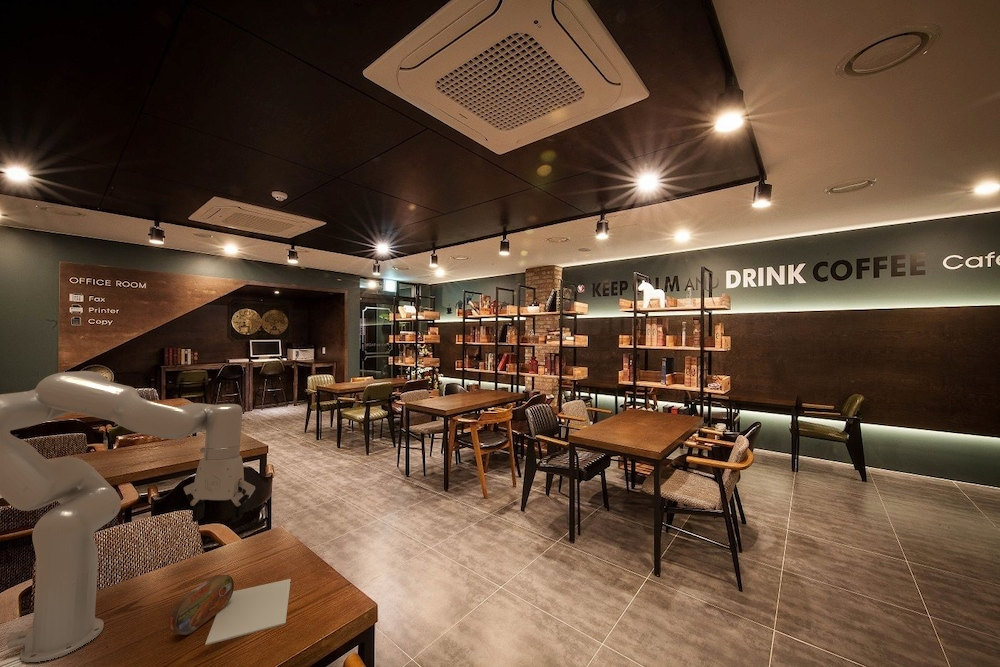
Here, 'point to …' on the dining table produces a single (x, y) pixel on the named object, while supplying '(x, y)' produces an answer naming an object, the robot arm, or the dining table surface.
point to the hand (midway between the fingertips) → (217, 519)
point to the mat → (251, 611)
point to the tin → (201, 604)
